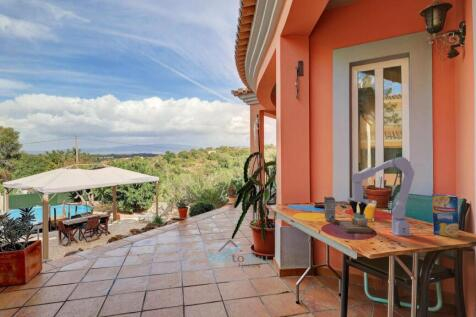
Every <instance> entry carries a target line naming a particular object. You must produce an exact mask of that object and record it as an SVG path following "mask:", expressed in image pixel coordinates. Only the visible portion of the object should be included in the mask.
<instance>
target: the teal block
mask: <svg viewBox="0 0 476 317" xmlns="http://www.w3.org/2000/svg"><path fill="white" fill-rule="evenodd" d="M353 217H355V218H365V217H366V214H365V213H364V214H363V215H360V212H357V213H353Z"/></svg>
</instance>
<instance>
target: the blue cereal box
mask: <svg viewBox="0 0 476 317" xmlns="http://www.w3.org/2000/svg"><path fill="white" fill-rule="evenodd" d="M458 198H459V197H458V196H457V195H456V194H441V193H440V194H438V193H436V194H435V193H432V194H431V201H432V202H431V203H432V205H431V206H432V232H433V235H434V236H436V235H437V236H444V237H451V238H452V237H453V238H460V235H459V234H460V233H459V208H458V206H459V204H458Z"/></svg>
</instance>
